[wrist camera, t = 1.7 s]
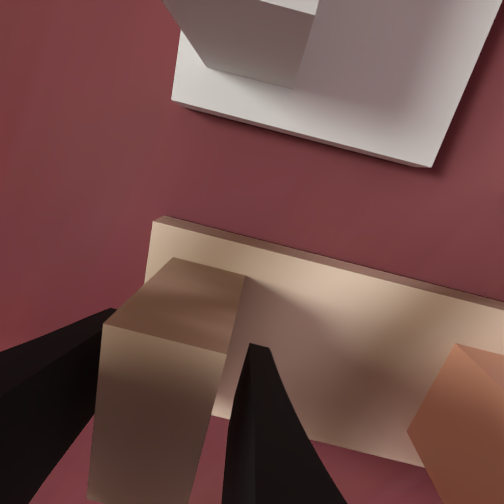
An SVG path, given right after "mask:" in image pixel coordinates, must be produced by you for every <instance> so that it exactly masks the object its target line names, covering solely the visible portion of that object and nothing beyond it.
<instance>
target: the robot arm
mask: <svg viewBox="0 0 504 504" xmlns="http://www.w3.org/2000/svg"><path fill="white" fill-rule="evenodd" d="M116 311H117V309H113V308H109V309H106V310H104V311H101V312H99V313H96V314H94V315H91V316H89V317H87V318H84V319H82V320H80V321H77V322H75V323H73V324H70V325H68V326H65V327H63V328H60V329H58V330H56V331H53V332H51V333H48V334H46V335H44V336H41V337H39V338H36V339H34V340H31V341H28V342H26V343H23V344H20V345H18V346H15V347H12V348H10V349H7V350H4V351H2V352H0V504H29V502H30V501H31V499H32V498H33V496H34V495H35V493H36V492H37V491H38V489H39V488H40V486H41V485H42V483H43V482H44V481H45V479H46V478H47V477H48V475H49V474H50V473H51V471H52V470H53V469H54V467H55V466H56V465H57V463H58V462H59V460H60V459H61V458H62V456H63V455H64V454H65V452H66V451H67V450H68V448H69V447H70V446H71V444H72V443H73V442H74V440H75V439H76V438H77V436H78V435H79V434H80V432H81V431H82V430H83V428H84V427H85V426H86V424H87V423H88V422H89V420H90V419H91V417H92V416H93V415H94V413H95V404H96V393H97V383H98V372H99V362H100V351H101V340H102V330H103V323H104V322H105V321H106V320H107V319H108V318H109V317H110V316H112V315H113V314H114V313H115V312H116ZM222 504H347V502H346V501H345V499H344V498H343V496H342V495H341V493H340V491H339V490H338V488H337V487H336V485H335V483H334V482H333V480H332V478H331V477H330V475H329V473H328V472H327V470H326V468H325V467H324V465H323V463H322V462H321V460H320V458H319V456H318V455H317V453H316V451H315V449H314V447H313V445H312V444H311V442H310V440H309V438H308V436H307V434H306V432H305V430H304V428H303V426H302V424H301V422H300V420H299V418H298V416H297V414H296V412H295V410H294V407H293V405H292V403H291V401H290V399H289V396H288V394H287V392H286V390H285V387H284V385H283V382H282V380H281V377H280V375H279V372H278V370H277V367H276V364H275V361H274V358H273V355H272V352H271V350H270V349H269V347H265V346H261V345H257V344H253V343H249V346H248V350H247V353H246V357H245V360H244V363H243V367H242V370H241V374H240V377H239V381H238V384H237V388H236V391H235V395H234V400H233V406H232V411H231V416H230V422H229V427H228V436H227V447H226V458H225V470H224V481H223V493H222Z"/></svg>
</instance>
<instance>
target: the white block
mask: <svg viewBox="0 0 504 504" xmlns="http://www.w3.org/2000/svg"><path fill="white" fill-rule="evenodd" d="M162 2H163V3H164V5H165V6H166V8H167V9H168V11H169V12H170V14H171V15H172V17H173V18H174V20H175V21H176V23H177V24H178V26H179V27H180V29H181V34H180V41H179V48H178V56H177V63H176V70H175V77H174V84H173V91H172V98H171V100H172V101H174V102H175V103H177V104H179V105H180V106H182V107H185V108H189V109H193V110H197V111H200V112H204V113H208V114H212V115H216V116H220V117H224V118H227V119H231V120H235V121H239V122H243V123H247V124H250V125H254V126H258V127H262V128H266V129H270V130H273V131H277V132H281V133H285V134H289V135H293V136H297V137H300V138H304V139H308V140H312V141H316V142H320V143H323V144H327V145H331V146H335V147H339V148H343V149H346V150H350V151H354V152H358V153H362V154H366V155H370V156H373V157H377V158H381V159H385V160H389V161H393V162H396V163H400V164H404V165H408V166H412V167H429V168H431V167H432V165H433V163H434V160H435V158H436V156H437V153H438V151H439V148H440V146H441V144H442V141H443V139H444V137H445V134H446V132H447V130H448V127H449V125H450V123H451V120H452V118H453V116H454V113H455V111H456V108H457V106H458V104H459V101H460V99H461V97H462V94H463V92H464V90H465V87H466V85H467V83H468V80H469V78H470V76H471V73H472V71H473V68H474V66H475V64H476V61H477V59H478V57H479V54H480V52H481V50H482V47H483V45H484V43H485V40H486V38H487V36H488V33H489V31H490V28H491V26H492V24H493V21H494V19H495V17H496V14H497V12H498V10H499V7H500V5H501V3H502V0H162Z"/></svg>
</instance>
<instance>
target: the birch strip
mask: <svg viewBox="0 0 504 504" xmlns="http://www.w3.org/2000/svg"><path fill="white" fill-rule="evenodd" d="M249 343H253V344H257V345H261V346H265V347H269V349H270V350H271V352H272V355H273V358H274V361H275V364H276V367H277V370H278V372H279V375H280V377H281V380H282V382H283V385H284V387H285V390H286V392H287V394H288V396H289V399H290V401H291V403H292V405H293V407H294V410H295V412H296V414H297V416H298V418H299V420H300V422H301V424H302V426H303V428H304V430H305V432H306V434H307V436H308V438H309V439H311V440H315V441H319V442H323V443H327V444H331V445H335V446H339V447H343V448H347V449H351V450H355V451H359V452H363V453H368V454H372V455H376V456H380V457H384V458H388V459H392V460H396V461H400V462H404V463H408V464H412V465H416V466H420V467H424V465H423V463H422V461H421V459H420V457H419V455H418V453H417V451H416V449H415V447H414V445H413V443H412V441H411V439H410V437H409V435H408V433H407V429H408V427H409V426H410V424H411V422H412V420H413V418H414V417H415V415H416V413H417V411H418V409H419V408H420V406H421V404H422V402H423V400H424V398H425V397H426V395H427V393H428V391H429V389H430V388H431V386H432V384H433V382H434V380H435V379H436V377H437V375H438V373H439V371H440V370H441V368H442V366H443V364H444V362H445V360H446V359H447V357H448V355H449V353H450V351H451V350H452V348H453V346H454V344H455V343H457V344H461V345H465V346H469V347H473V348H477V349H481V350H485V351H489V352H493V353H497V354H501V355H504V302H501V301H497V300H493V299H489V298H485V297H481V296H478V295H474V294H470V293H466V292H462V291H458V290H454V289H450V288H446V287H442V286H438V285H434V284H431V283H427V282H423V281H419V280H415V279H411V278H407V277H403V276H399V275H395V274H391V273H387V272H384V271H380V270H376V269H372V268H368V267H364V266H360V265H356V264H352V263H348V262H344V261H341V260H337V259H333V258H329V257H325V256H321V255H317V254H313V253H309V252H305V251H301V250H297V249H294V248H290V247H286V246H282V245H278V244H274V243H270V242H266V241H262V240H258V239H254V238H250V237H247V236H243V235H239V234H235V233H231V232H227V231H223V230H219V229H215V228H211V227H207V226H204V225H200V224H196V223H192V222H188V221H184V220H180V219H176V218H172V217H168V216H163V217H161V218H158V219H156V220H154V221H153V225H152V232H151V239H150V247H149V254H148V261H147V268H146V275H145V282H144V285H143V286H142V287H141V288H140V289H139V290H138V291H137V292H136V293H135V294H134V295H133V296H132V297H130V298H129V299H128V300H127V301H126V302H125V303H124V304H123V305H122V306H121V307H120V308H119V309H118V310H117V311H116V312H115V313H114V314H113V315H112V316H110V317H109V318H108V319H107V320H106V321H105V322H104V323H103V330H102V340H101V351H100V362H99V372H98V383H97V393H96V404H95V415H94V425H93V436H92V446H91V457H90V468H89V478H88V489H87V499H90V500H94V501H98V502H102V503H106V504H188V502H189V498H190V494H191V490H192V486H193V483H194V479H195V475H196V471H197V467H198V463H199V459H200V456H201V452H202V448H203V444H204V440H205V436H206V433H207V429H208V425H209V421H210V417H211V415H214V416H218V417H222V418H226V419H230V416H231V411H232V406H233V400H234V395H235V391H236V388H237V384H238V381H239V377H240V374H241V370H242V367H243V363H244V360H245V357H246V353H247V350H248V346H249ZM424 468H425V467H424Z"/></svg>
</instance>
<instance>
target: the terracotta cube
mask: <svg viewBox="0 0 504 504" xmlns="http://www.w3.org/2000/svg"><path fill="white" fill-rule="evenodd" d="M407 433H408V435H409V437H410V439H411V441H412V443H413V445H414V447H415V449H416V451H417V453H418V455H419V457H420V459H421V461H422V463H423V465H424V467H425V469H426V471H427V473H428V475H429V477H430V479H431V481H432V483H433V485H434V487H435V489H436V491H437V493H438V495H439V497H440V499H441V501H442V502H443V504H504V355H501V354H497V353H493V352H489V351H485V350H481V349H477V348H473V347H469V346H465V345H461V344H457V343H455V344H454V346H453V348H452V350H451V351H450V353H449V355H448V357H447V359H446V360H445V362H444V364H443V366H442V368H441V370H440V371H439V373H438V375H437V377H436V379H435V380H434V382H433V384H432V386H431V388H430V389H429V391H428V393H427V395H426V397H425V398H424V400H423V402H422V404H421V406H420V408H419V409H418V411H417V413H416V415H415V417H414V418H413V420H412V422H411V424H410V426H409V427H408V429H407Z"/></svg>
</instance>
